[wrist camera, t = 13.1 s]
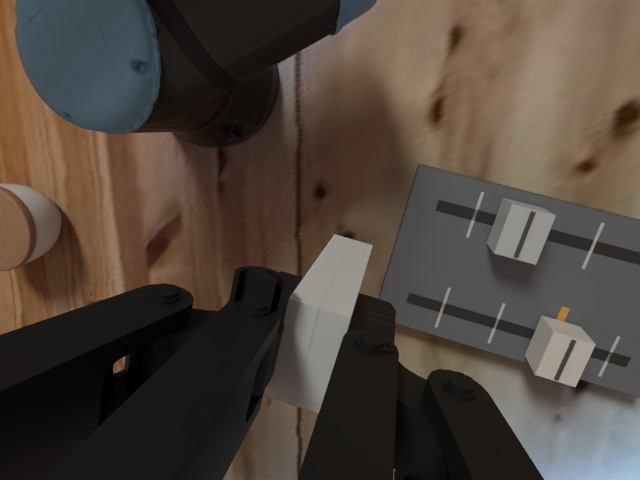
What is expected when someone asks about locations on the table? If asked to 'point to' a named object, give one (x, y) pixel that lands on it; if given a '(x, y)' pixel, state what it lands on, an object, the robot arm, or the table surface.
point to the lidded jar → (26, 225)
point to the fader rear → (559, 351)
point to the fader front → (520, 230)
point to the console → (516, 275)
